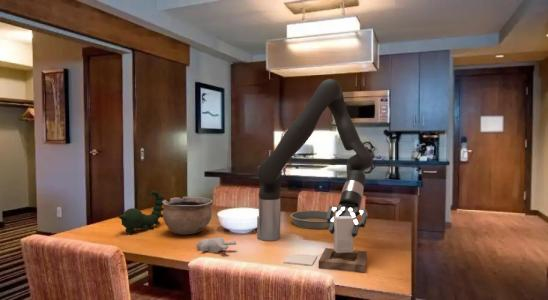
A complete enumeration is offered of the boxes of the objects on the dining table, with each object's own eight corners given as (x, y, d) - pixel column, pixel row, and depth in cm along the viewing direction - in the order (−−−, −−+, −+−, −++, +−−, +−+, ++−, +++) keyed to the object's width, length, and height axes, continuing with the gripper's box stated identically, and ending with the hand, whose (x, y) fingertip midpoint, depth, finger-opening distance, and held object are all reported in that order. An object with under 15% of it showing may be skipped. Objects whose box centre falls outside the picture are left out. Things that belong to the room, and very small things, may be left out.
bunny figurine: (206, 235, 153) (237, 235, 146) (207, 248, 152) (239, 248, 146) (191, 241, 144) (223, 241, 137) (192, 254, 144) (225, 255, 137)
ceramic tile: (283, 263, 131) (283, 261, 131) (290, 254, 141) (290, 253, 141) (312, 265, 129) (312, 264, 128) (317, 256, 138) (317, 255, 138)
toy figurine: (153, 227, 189) (109, 234, 167) (155, 189, 189) (112, 191, 168) (167, 229, 184) (124, 237, 162) (169, 190, 185) (126, 192, 163)
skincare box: (349, 249, 134) (350, 215, 134) (353, 253, 130) (354, 218, 129) (332, 249, 134) (333, 215, 133) (336, 253, 129) (336, 218, 128)
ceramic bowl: (187, 224, 187) (187, 194, 186) (222, 230, 176) (222, 198, 175) (152, 235, 168) (151, 201, 167) (188, 242, 157) (188, 206, 156)
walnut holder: (318, 268, 126) (318, 260, 126) (325, 254, 141) (325, 247, 141) (364, 272, 122) (364, 265, 122) (366, 258, 137) (366, 251, 136)
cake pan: (287, 229, 180) (287, 219, 180) (293, 217, 204) (293, 209, 204) (339, 231, 176) (339, 221, 175) (339, 219, 200) (340, 211, 200)
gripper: (330, 188, 140) (319, 225, 131) (370, 191, 134) (361, 231, 124) (334, 199, 145) (324, 237, 136) (372, 203, 139) (364, 243, 129)
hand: (342, 234), depth 130 cm, fingers closed on skincare box, 7 cm apart
